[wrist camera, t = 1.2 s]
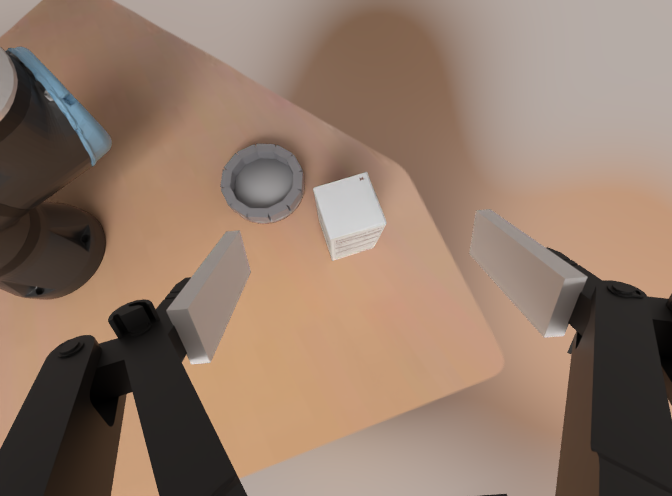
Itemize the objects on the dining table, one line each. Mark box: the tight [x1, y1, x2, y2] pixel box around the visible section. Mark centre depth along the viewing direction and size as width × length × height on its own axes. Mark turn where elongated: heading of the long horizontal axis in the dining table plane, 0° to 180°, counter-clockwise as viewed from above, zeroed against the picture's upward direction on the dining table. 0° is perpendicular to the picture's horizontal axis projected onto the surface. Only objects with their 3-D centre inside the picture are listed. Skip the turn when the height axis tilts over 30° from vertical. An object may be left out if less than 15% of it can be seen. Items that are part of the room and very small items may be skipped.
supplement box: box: [313, 172, 386, 261], centre depth 40 cm, size 7×7×13 cm
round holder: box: [220, 144, 304, 224], centre depth 47 cm, size 13×13×3 cm
